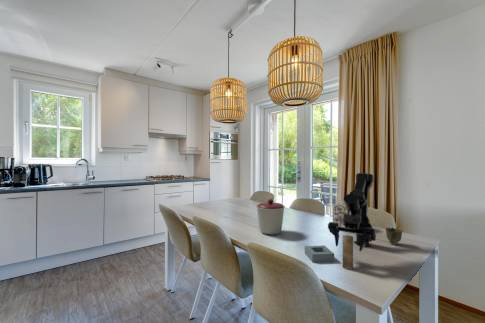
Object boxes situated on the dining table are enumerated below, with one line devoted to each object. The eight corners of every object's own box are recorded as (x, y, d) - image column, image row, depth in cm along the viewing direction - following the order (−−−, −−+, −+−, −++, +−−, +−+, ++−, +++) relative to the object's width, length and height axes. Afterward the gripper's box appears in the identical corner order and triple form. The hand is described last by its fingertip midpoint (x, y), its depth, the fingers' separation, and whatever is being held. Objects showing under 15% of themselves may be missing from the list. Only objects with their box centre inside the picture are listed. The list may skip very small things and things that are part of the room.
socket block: (304, 253, 112) (304, 246, 112) (324, 252, 113) (324, 245, 113) (312, 262, 102) (312, 254, 102) (334, 261, 103) (334, 253, 103)
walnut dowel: (340, 265, 99) (340, 235, 99) (349, 265, 99) (349, 235, 99) (345, 269, 95) (345, 238, 95) (355, 269, 95) (355, 238, 95)
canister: (264, 238, 133) (264, 202, 133) (251, 230, 150) (251, 197, 150) (290, 234, 140) (290, 200, 140) (275, 226, 157) (275, 195, 157)
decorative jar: (358, 228, 153) (358, 201, 153) (348, 231, 147) (348, 203, 147) (341, 224, 163) (341, 198, 163) (331, 226, 157) (331, 200, 157)
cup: (382, 242, 126) (382, 228, 126) (391, 241, 129) (391, 226, 129) (396, 247, 119) (396, 232, 119) (405, 245, 122) (405, 230, 122)
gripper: (328, 204, 107) (321, 234, 98) (374, 209, 96) (371, 243, 87) (333, 218, 113) (326, 247, 104) (377, 224, 102) (373, 257, 93)
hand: (347, 248), depth 97 cm, fingers open, 9 cm apart
